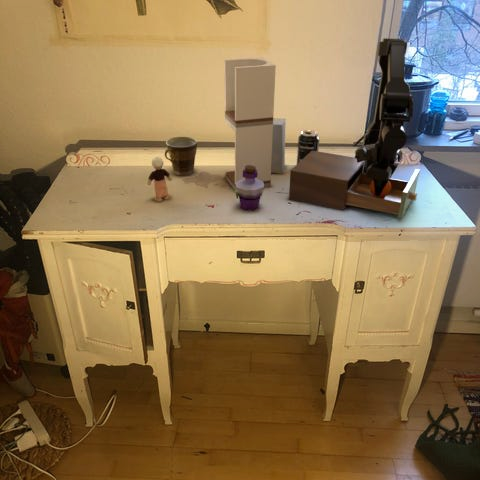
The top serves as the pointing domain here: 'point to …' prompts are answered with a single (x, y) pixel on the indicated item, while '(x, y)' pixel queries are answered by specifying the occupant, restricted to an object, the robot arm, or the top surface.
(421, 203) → the top surface
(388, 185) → the orange
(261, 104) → the white tower
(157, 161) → the grandmother figurine
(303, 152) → the beverage can
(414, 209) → the top surface
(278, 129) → the cosmetic box
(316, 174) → the cabinet
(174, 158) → the ceramic cup
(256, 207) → the potion bottle
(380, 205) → the drawer
